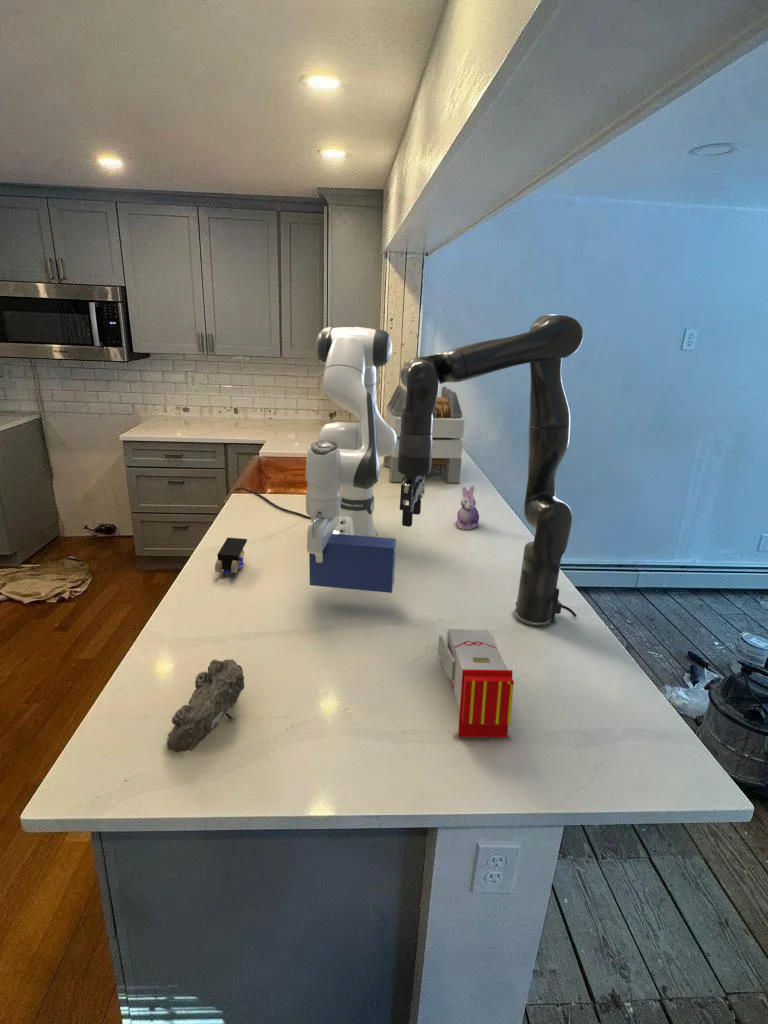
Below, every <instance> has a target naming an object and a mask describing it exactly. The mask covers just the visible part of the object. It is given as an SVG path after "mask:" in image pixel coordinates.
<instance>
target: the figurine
mask: <svg viewBox="0 0 768 1024" xmlns="http://www.w3.org/2000/svg"><path fill="white" fill-rule="evenodd" d="M474 490H475V486H474V485H471V487H469V490H467V488H466V487H465V486H462V487H461V491H462V497H461V500H460V505H461V508H460V509H458V510H457V515H456V516H457V519H456V526H458V528H459V529H461V530H473V529H475V528H477V527H478V525H479V521H480V514H479V511H478V509H477V507H476V504H477V502H476V499H475V496H474V492H475V491H474Z"/></svg>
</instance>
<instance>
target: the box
mask: <svg viewBox="0 0 768 1024" xmlns="http://www.w3.org/2000/svg"><path fill="white" fill-rule="evenodd" d="M396 551H397V538H392V537H382V536H381V537H380V536H379V537H378V536H375V537H368V536H356V535H344V534H332V535H331V537H330V539H329V540H328V542H327V544H326V546H325V548H324V550H323V554H324V560H323V562H322V563H318V562H316V556H315V554H311V553H308V557H309V559H308V561H309V562H308V563H309V586H312V587H313V586H316V587H326V588H337V589H345V590H356V591H357V590H358V591H365V592H366V591H367V592H378V593H387V594H389V593H390V594H392V593H393V589H394V586H395V585H394V584H395V575H396Z"/></svg>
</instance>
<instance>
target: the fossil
mask: <svg viewBox="0 0 768 1024" xmlns="http://www.w3.org/2000/svg"><path fill="white" fill-rule="evenodd" d="M243 670H244V669H243V667H242V665H240V664H237V662H236V661H235V660H234V659H232V658H231V659H227V658H226V659H224V660H223V661H222V660H217V659H212V660H211V661H210V663H209V665H208V666H207V671H201V672H199V673H198V674H197V675H196V676H195V680H194V684H195V685H194V687H195V689H194V690H193V693H192V694H191V697H190V698H189V700H188V704H184V705H182V706H181V707H180V709H177V710H176V711H175V713H174V715H173V716H172V718H171V723H172V724H173V727H172V730H171V731H170V732H168V734H167V738H166V741H167V742H166V745H167V749H168V750H169V751H173V752H174V753H176V754H178V753H182V752H188V751H189V752H192V751H193V750H195V748H196V747H197V746H199V744H200V743H201V742H203V741H204V740H205V739H206V738H207V737H208V736H209V735H210V734H211V733H212V732H214V730H215V729H217V727H218V726H219V724H220V722H221V721H222V720H223V719H224V718H225V716H226V717H227V719H229V720H233V717H232V715H230V714H229V710H230V709H231V708H234V706H235V704H236V703H237V702H238V699H239V697H240V695H241V693H242V691H243V690H245V689H244V688H245V675H244V671H243Z"/></svg>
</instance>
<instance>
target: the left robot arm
mask: <svg viewBox="0 0 768 1024" xmlns="http://www.w3.org/2000/svg"><path fill="white" fill-rule="evenodd" d="M315 344H316V345H315V346H316V353H317V357H318V359H319V360H320V361H322V363H325V365H324V370H323V377H322V389H323V392H324V395H325V397H326V398H327V399H328V400H329V401H330V402H331V403H332V404H333V405H335V406H336V407H338V408H340V409H342V410H344V411H346V412H347V413H349V414H351V415H353V416H354V417H355V418H357V420H359V422H351V421H350V422H348V421H335V422H330V423H325V424H324V425H323V426H322V427H321V429H320V431H319V435H318V441H314V442H313V443H311V444H310V445H308V447H307V453H306V461H305V481H306V486H307V487H306V490H305V491H306V492H305V513H306V514H303V513H300V512H297V511H293V510H290V509H287V508H285V507H281V506H279V505H277V504H276V503H274V502H272V501H271V500H269V499H268V498H267V497H265V496H264V495H262V494H260V493H259V492H256V491H253V490H251V489H248V488H246V487H237V488H236V489H235V490H234V491H235V492H237V491H240V490H241V491H246V492H248V493H250V494H254V495H257V496H258V497H260V498H261V499H263V500H264V501H265V502H267V503H268V504H270V505H272V506H273V507H275V508H277V509H279V510H280V511H284V512H287V513H290V514H294V515H297V516H301V517H303V518H306V519H309V520H310V522H309V524H308V527H307V535H306V536H307V537H306V551H307V553H308V554H309V553H311V554H315V556H316V562H318V563H322V562H323V560H324V554H323V550H324V548H325V546H326V544H327V542H328V540H329V539H330V537H331V535H332V534H344V535H356V536H368V537H376V535H377V532H376V528H375V523H374V513H373V512H374V509H375V496H374V486H375V485H376V484H377V483H378V482H379V480H380V476H381V462H380V458H384V456H390V455H391V454H392V453H393V452H394V450H395V449H396V446H397V435H396V433H395V431H394V429H393V428H392V427H390V426H389V425H388V424H387V423H386V420H384V418H383V417H382V415H381V414H380V411H379V408H378V400H377V369H379V368H380V367H383V366H385V365H386V364H388V363H389V360H390V359H391V356H392V353H393V341H392V339H391V335H390V334H389V333H388V331H387V330H384V329H380V328H376V329H374V328H369V327H362V326H342V327H335V326H328V327H324V328H323V329H321V330H320V331H319V333H318V335H317V338H316V343H315Z"/></svg>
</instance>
